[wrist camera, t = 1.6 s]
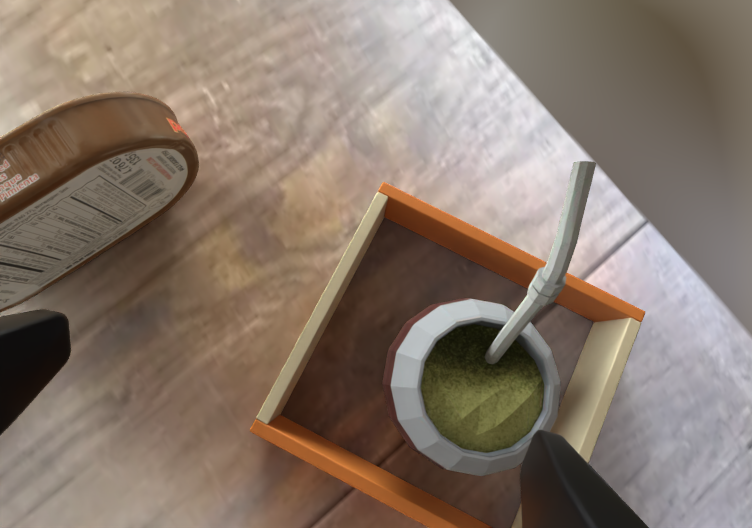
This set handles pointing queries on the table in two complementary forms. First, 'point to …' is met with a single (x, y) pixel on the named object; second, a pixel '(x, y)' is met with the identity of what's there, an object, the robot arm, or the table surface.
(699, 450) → the table surface
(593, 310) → the rectangular frame
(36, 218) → the tin
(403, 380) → the mate gourd
